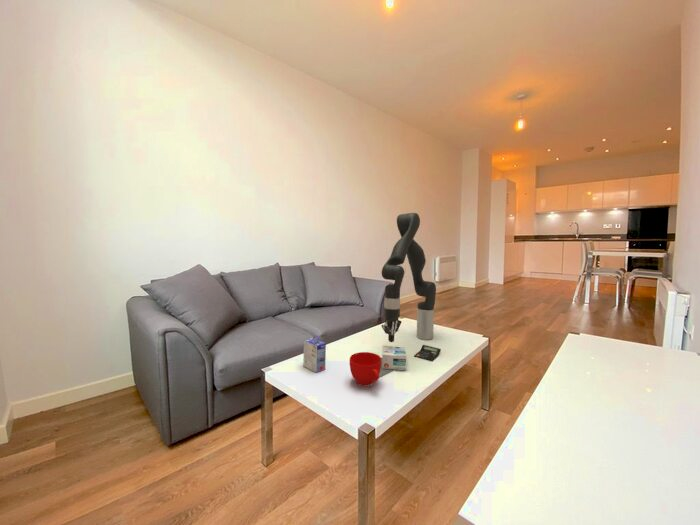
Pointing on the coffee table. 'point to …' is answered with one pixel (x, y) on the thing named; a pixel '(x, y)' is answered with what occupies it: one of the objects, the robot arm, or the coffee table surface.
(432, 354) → the calculator
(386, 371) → the mat
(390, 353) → the light bulb box
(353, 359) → the ceramic cup
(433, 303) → the robot arm
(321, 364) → the ink cartridge box
